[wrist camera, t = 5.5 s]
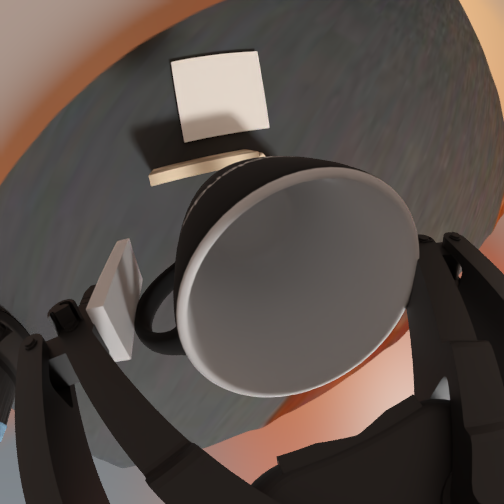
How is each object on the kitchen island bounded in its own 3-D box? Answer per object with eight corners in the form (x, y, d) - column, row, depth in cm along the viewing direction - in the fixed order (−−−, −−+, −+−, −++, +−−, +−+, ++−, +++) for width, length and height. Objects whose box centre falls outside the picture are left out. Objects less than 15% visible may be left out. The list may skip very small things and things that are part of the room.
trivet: (184, 142, 31) (184, 142, 31) (171, 63, 26) (170, 62, 26) (268, 127, 33) (269, 127, 32) (255, 52, 28) (257, 51, 28)
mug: (280, 123, 15) (400, 122, 6) (325, 240, 19) (421, 321, 11) (107, 217, 15) (39, 318, 6) (181, 318, 19) (196, 443, 10)
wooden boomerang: (167, 226, 35) (166, 243, 30) (153, 169, 31) (148, 175, 26) (290, 198, 38) (309, 209, 33) (284, 143, 34) (303, 145, 29)
